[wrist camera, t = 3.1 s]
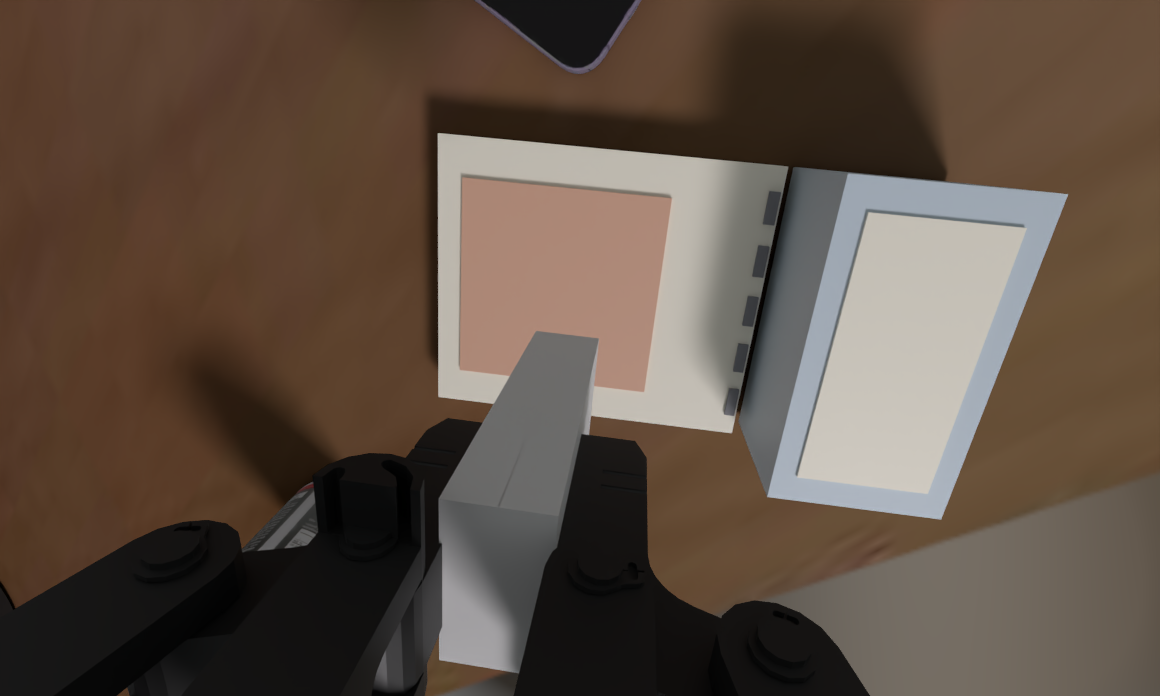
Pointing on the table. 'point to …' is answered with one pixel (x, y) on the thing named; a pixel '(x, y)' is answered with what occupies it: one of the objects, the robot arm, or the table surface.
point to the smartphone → (566, 27)
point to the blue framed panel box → (886, 334)
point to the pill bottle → (289, 524)
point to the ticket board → (603, 271)
